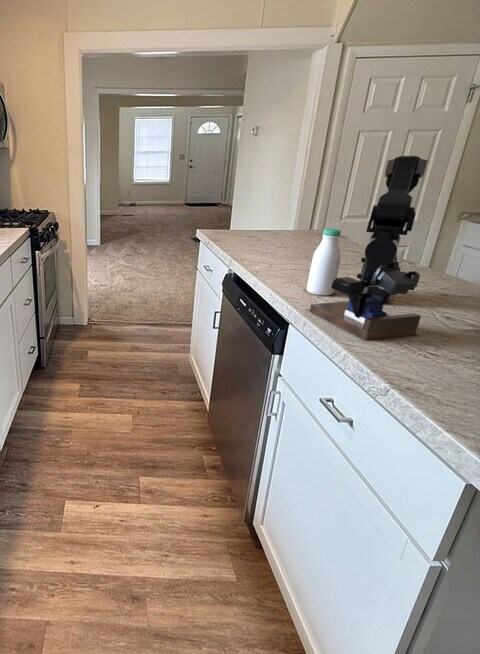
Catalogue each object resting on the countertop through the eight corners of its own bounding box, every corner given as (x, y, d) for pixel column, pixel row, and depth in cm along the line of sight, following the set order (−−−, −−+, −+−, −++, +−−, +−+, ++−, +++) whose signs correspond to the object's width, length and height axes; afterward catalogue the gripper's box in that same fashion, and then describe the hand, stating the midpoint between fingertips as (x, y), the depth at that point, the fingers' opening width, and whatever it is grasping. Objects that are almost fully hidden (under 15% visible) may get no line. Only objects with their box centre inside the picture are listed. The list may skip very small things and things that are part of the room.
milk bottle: (338, 295, 125) (352, 231, 118) (313, 296, 125) (326, 231, 118) (325, 288, 132) (338, 227, 125) (301, 288, 133) (313, 227, 125)
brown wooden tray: (309, 310, 114) (312, 294, 112) (352, 306, 116) (356, 290, 114) (365, 339, 96) (370, 320, 94) (415, 334, 98) (421, 315, 96)
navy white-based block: (344, 314, 105) (348, 296, 103) (358, 313, 106) (363, 295, 104) (369, 327, 98) (375, 307, 96) (385, 325, 98) (390, 306, 96)
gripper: (374, 266, 87) (357, 332, 92) (446, 261, 90) (426, 325, 95) (336, 254, 97) (323, 314, 103) (402, 250, 100) (386, 309, 106)
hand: (365, 316), depth 101 cm, fingers closed on navy white-based block, 4 cm apart
